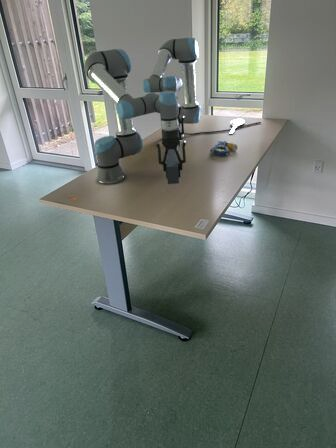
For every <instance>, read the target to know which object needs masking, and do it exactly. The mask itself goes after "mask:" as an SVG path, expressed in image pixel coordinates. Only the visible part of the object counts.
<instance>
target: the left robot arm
mask: <svg viewBox="0 0 336 448" xmlns="http://www.w3.org/2000/svg"><path fill="white" fill-rule="evenodd" d="M83 68H84V73H85V76H86V77H87V79H88V80H89V81H90V82H91V83H93V84H96V85H97V87H99V88H100V90H102V92H103V93H104V94H105V95H106V96H107V97H108V98H109V99H110V100H111V101H112V105H113V111H114V116H115V122H116V127H117V131H116V132H115V136H116V137H115V136H114V135H107V136H102V137H100V138H97V140H96V141H95V142H94V144H93V146H94V152H95V157H96V161H97V162H96V165H95V166H96V167H97V168H98V169H97V170H98V171H97V178H96V179H97V182H98V184H101V185H114V184H119V183H120V182H122V181H124V179H125V173H124V171H123V169H122V167H121V165H120V160H121V159H124V158H127V157H130V156H134V155H137V154H139V153H140V152H141V151H142V149H143V138H142V136H141V134H140V133H139V132H138V131H137V129H136V128H134V124H133V119H134V118H137V117H141V116H145V115H150V114H153V113H157V114H159V115H160V126H161V128H160V129H161V138H162V139H161V141H157V142H156V145H155V146H156V148H157V157H158V164H159V165H162V170H163V172H165V178H166V179H167V169H166V165H167V153H168V150H170V149H174V150H175V152H176V155H177V158H178V161H179V163H178V173H179V179H181V171H183V164H186V162H187V157H186V143H187V141H186V140H180V139H179V130H178V114H177V99H176V93H175V92H174V91H163V92H158V94H157V93H156V92H155V93H146V94H145V95H144V96H139V97H135V98H134V97H133V96H132V95H131V94H130V93H128V87H127V80H128V79H129V75H128V74H130V73H131V70H132V62H131V59H130V57H129V54H128V53H127V52H126V51H125V50H124V49H121V48H113V49H107V50H99V51H94V52H92V53H90V54H89V55H88V56H87V57H86V59H85V60H84V65H83ZM179 143H180V147H181V150H182V151H181V153H182V156H181V154H180V150H179V151H178V148H177V146H178V145H179ZM162 146H163V147H164V148H165V151H164V155H163V160H162Z"/></svg>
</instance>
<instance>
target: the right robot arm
mask: <svg viewBox="0 0 336 448" xmlns="http://www.w3.org/2000/svg"><path fill="white" fill-rule="evenodd" d="M199 57H200V50H199V45H198V41H197V39H196V38H194V37H183V38H171V39H169V40H167V41H165V42H164V43H163V44H161V46H160V47H159V49H158V50H157V53H156V60H155V63H154V65H153V67H152V70H151V72H150V75H149V78H144V79H143V81H142V89H143V92H144V93H146V94H149V93H155V94H156V93H160V92H163V91H174V92H175V93H176V99H177V114H178V130H179V139H180V140H181V141H183V140H182V139H184V137H185V135H186V136H187V135H188V136H193V135H199V134H214V133H215V134H216V133H222V132H228V131H229V132H230V131H231V129H232V128H228V129H223V130H212V131H201V132H194V133H192V132H191V133H188V132H185V126H184V125H186V124H187V125H190V124H191V125H194V124H198V123H199V122H200V121H201V114H202V106H200V105H199V102H198V101H197V94H196V93H197V91H196V73H195V72H196V71H195V69H196V68H195V64H196V62H197V59H199ZM172 60H178V63H179V65H181V66H180V67H181V68H180V69H181V78H180V77H179V76H174V75H168V76H165V74H166V72H167V71H166V70H167V68H168V65H169V63H170V62H171V61H172ZM181 88H182V97H183V102H182V104H181V105H180V104H179V98H178V91H180V90H181ZM258 124H261V121H258V122H252V123H249V124H246V125H245V124H244V125H240V126H237V127H236V128H235V130H238V129H242V128H245V127H246V128H247V127H249V126H253V125H258ZM180 147H181V144H180V143H179V148H180Z"/></svg>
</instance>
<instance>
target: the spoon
mask: <svg viewBox="0 0 336 448" xmlns="http://www.w3.org/2000/svg"><path fill="white" fill-rule="evenodd" d="M243 124H244V125H245V119H243V118H234V119H232V120H231V121H230V125H231V126H232V128H230V129H231V130H229V133H228V134H229V135H234V133H235V131H236V129H235V128H237V127H241V126H243Z"/></svg>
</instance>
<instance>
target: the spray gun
mask: <svg viewBox="0 0 336 448" xmlns="http://www.w3.org/2000/svg"><path fill="white" fill-rule="evenodd" d="M237 150H238V144H235V143H233V142H227V140H223V141H217V143H215V145H214V146H213V147H212V148H211V149H210V150H209V153H210V154H211V155H212V156H214V155H216V156H220V157H227V156H229V155H230V153H231V151H232V152H236V151H237Z"/></svg>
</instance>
